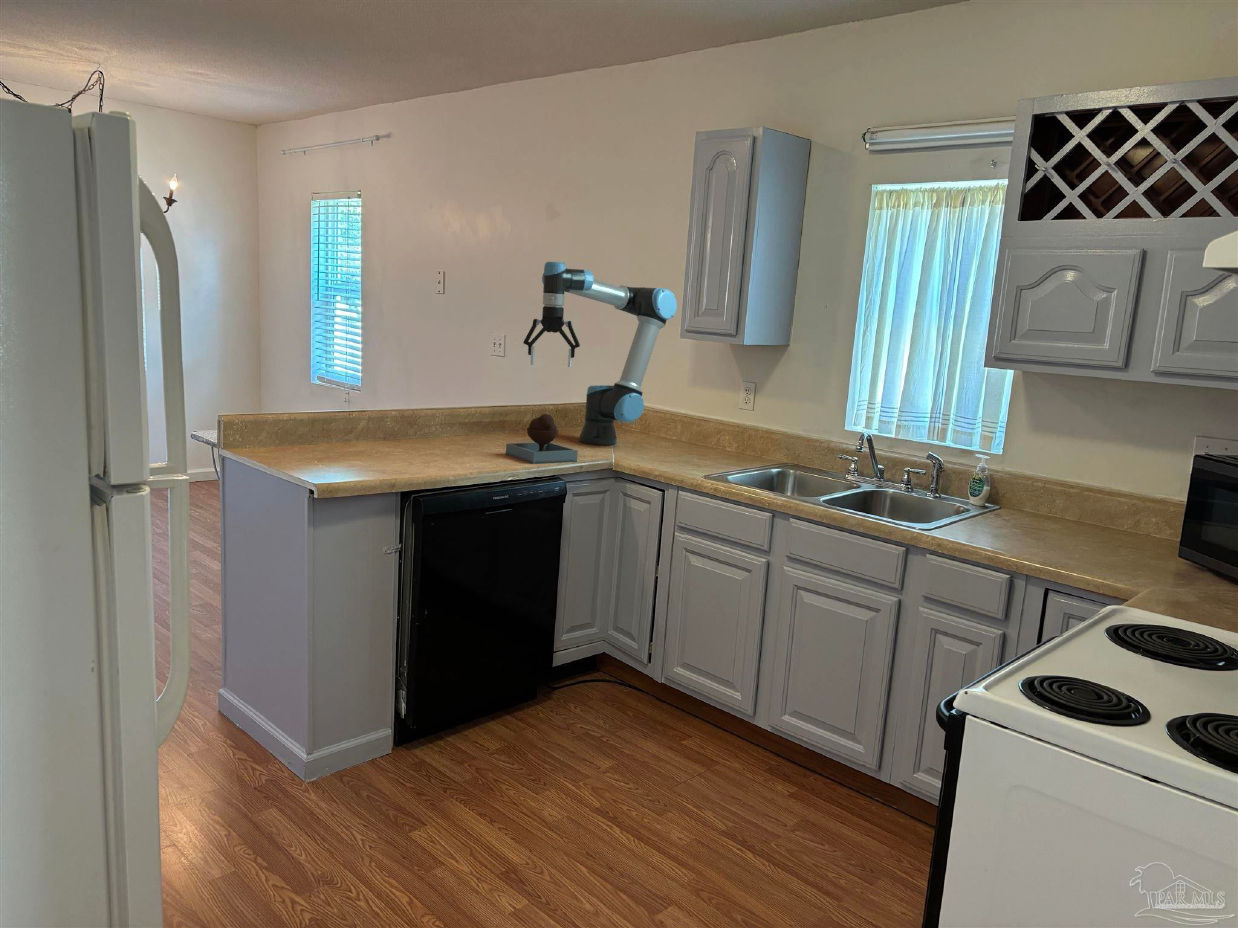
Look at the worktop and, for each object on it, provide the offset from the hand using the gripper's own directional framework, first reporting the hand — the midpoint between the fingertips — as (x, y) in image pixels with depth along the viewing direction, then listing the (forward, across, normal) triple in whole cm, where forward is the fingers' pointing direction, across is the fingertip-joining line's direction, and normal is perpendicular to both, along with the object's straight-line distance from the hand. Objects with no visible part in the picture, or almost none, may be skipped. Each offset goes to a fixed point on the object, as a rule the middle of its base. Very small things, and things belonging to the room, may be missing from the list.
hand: (550, 365), depth 317 cm
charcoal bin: (+31, 0, -16) cm, 35 cm away
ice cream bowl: (+30, 0, -16) cm, 34 cm away
